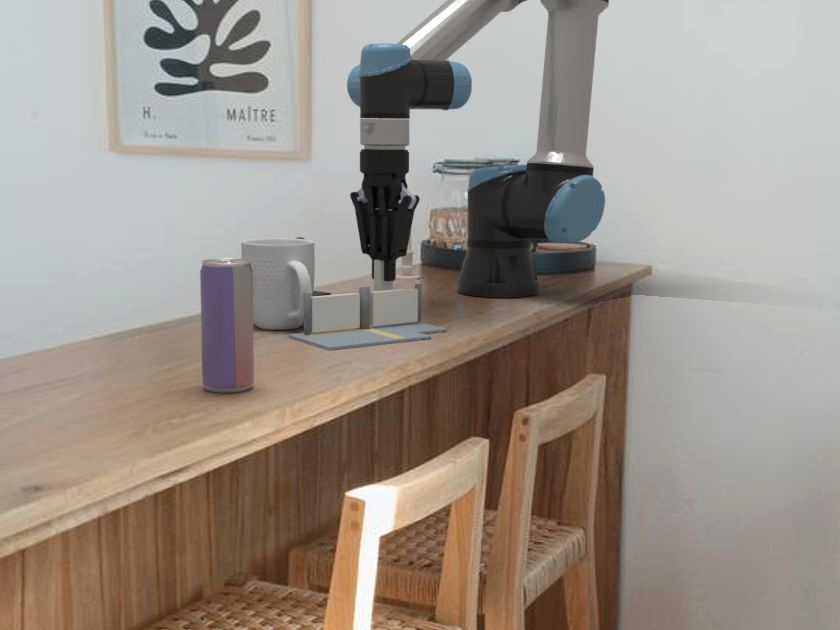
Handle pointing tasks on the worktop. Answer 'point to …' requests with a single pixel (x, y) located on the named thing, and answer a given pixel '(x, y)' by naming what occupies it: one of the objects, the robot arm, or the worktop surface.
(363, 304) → the fence fixed panel
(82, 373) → the worktop surface
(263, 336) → the worktop surface
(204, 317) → the beverage can
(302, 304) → the mug
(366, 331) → the card
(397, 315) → the panel
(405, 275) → the candle
